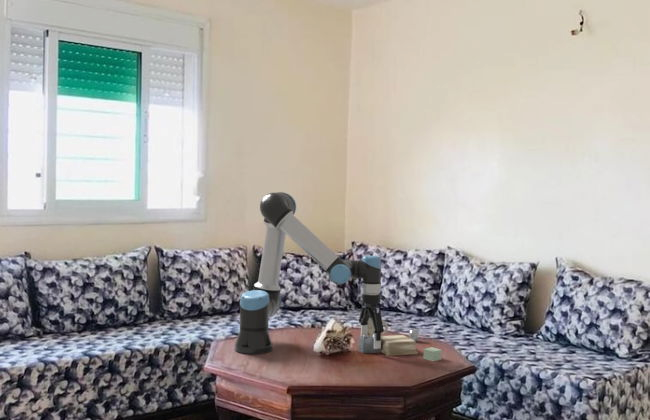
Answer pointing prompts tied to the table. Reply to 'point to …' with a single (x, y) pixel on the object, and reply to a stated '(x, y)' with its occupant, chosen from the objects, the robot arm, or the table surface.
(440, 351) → the sage block
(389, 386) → the table surface
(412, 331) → the grey bushing
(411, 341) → the plinth
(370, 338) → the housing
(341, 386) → the table surface
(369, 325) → the mug
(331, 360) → the table surface
